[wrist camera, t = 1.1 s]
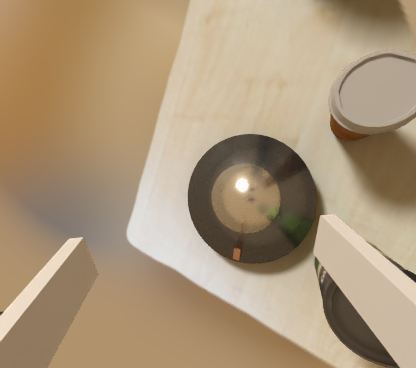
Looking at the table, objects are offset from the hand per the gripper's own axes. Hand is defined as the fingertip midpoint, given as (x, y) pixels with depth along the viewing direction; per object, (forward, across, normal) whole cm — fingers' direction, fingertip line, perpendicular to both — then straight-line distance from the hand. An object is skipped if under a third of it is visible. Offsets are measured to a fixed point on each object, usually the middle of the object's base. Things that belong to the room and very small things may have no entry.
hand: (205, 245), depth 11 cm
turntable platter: (+25, +8, -11) cm, 28 cm away
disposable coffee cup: (+24, +26, +2) cm, 36 cm away
